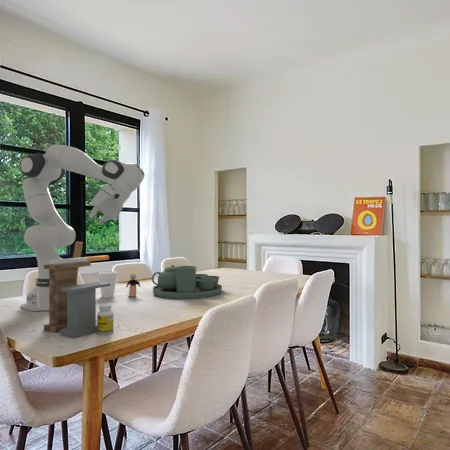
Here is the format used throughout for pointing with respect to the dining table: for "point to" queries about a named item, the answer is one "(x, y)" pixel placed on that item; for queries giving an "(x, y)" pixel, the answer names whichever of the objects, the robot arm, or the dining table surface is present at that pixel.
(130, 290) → the grandmother figurine
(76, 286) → the rack
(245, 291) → the dining table surface
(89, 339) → the dining table surface
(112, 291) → the foam cup
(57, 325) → the tall stand
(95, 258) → the wooden handled knife
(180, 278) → the tea set
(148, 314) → the dining table surface
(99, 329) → the supplement bottle
